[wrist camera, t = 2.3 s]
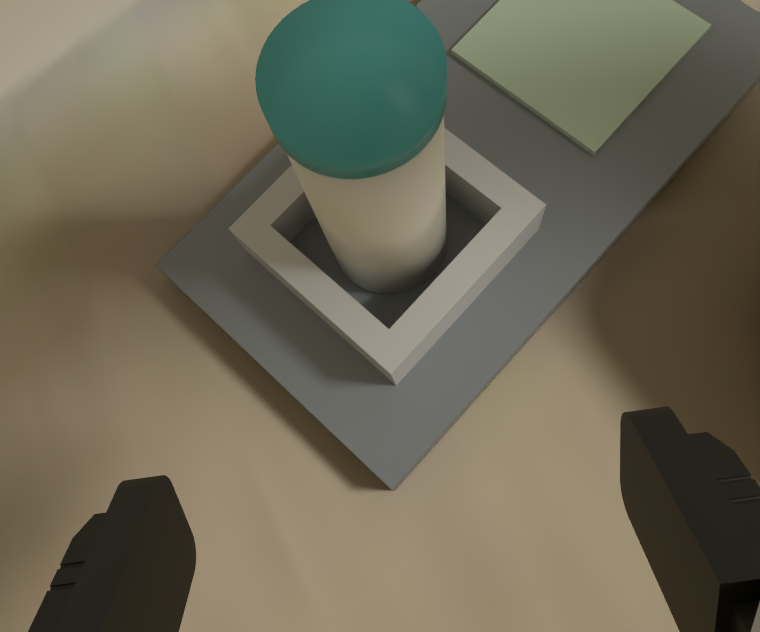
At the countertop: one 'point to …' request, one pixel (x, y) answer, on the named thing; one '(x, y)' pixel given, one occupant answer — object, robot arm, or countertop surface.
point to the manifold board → (475, 210)
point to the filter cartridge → (364, 132)
